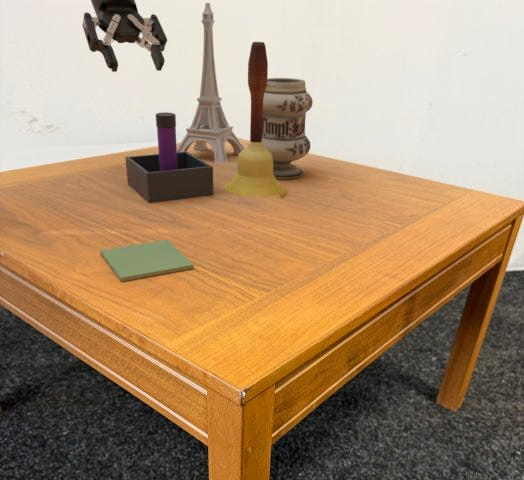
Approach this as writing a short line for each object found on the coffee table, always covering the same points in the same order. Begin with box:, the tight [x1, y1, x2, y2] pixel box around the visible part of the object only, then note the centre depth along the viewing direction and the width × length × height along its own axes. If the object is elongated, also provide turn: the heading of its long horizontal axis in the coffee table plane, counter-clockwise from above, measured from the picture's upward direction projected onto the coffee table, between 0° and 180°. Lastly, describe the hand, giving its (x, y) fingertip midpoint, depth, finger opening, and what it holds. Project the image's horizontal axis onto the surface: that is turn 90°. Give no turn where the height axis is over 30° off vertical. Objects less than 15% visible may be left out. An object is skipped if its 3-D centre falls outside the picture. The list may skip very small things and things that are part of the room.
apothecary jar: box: [262, 77, 314, 180], centre depth 112 cm, size 12×12×18 cm
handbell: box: [224, 41, 287, 199], centre depth 98 cm, size 12×12×25 cm
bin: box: [124, 151, 214, 204], centre depth 101 cm, size 12×12×6 cm
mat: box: [99, 239, 194, 283], centre depth 76 cm, size 10×10×1 cm
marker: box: [155, 111, 178, 171], centre depth 98 cm, size 3×3×13 cm
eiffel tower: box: [177, 2, 246, 163], centre depth 119 cm, size 13×13×30 cm
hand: (138, 68), depth 99 cm, fingers open, 8 cm apart
